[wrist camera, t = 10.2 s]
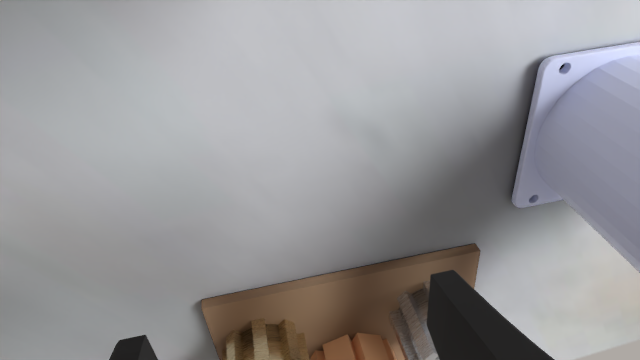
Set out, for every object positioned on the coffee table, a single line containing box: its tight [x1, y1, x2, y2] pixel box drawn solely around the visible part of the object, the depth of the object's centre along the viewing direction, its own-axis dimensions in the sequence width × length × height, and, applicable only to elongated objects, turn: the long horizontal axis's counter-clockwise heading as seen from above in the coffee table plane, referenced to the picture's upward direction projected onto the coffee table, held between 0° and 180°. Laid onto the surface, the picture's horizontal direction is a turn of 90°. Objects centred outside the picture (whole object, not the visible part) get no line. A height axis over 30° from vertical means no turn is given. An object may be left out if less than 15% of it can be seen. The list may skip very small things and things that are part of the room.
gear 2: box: [389, 280, 439, 360], centre depth 25 cm, size 5×5×4 cm
